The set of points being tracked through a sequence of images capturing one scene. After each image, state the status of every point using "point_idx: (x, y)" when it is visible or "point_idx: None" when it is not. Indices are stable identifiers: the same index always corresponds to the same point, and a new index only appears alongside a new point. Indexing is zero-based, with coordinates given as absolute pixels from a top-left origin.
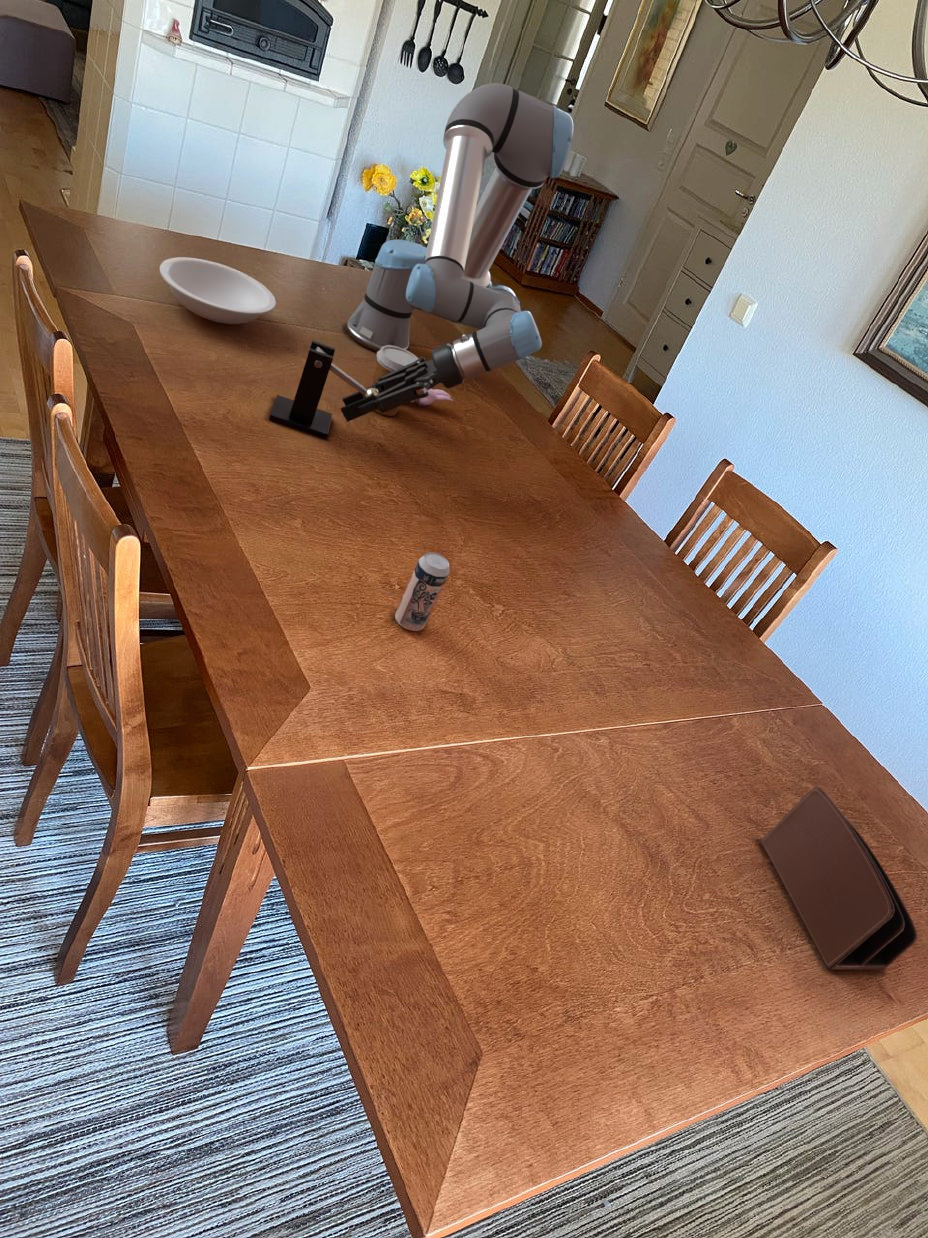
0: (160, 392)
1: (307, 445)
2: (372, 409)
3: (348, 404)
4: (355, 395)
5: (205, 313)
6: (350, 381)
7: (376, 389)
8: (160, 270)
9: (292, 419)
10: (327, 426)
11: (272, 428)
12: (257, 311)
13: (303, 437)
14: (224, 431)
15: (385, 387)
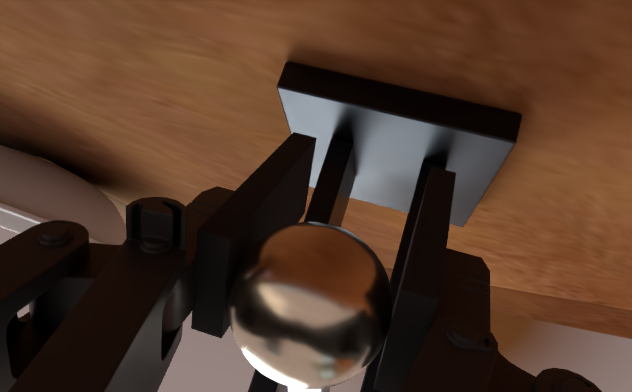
0: None
1: (616, 174)
2: (487, 323)
3: (305, 185)
4: None
5: (118, 220)
6: (326, 389)
7: (285, 385)
8: None
9: (455, 198)
10: (430, 127)
11: (521, 213)
12: (18, 215)
13: (544, 169)
14: (599, 277)
15: (158, 347)
